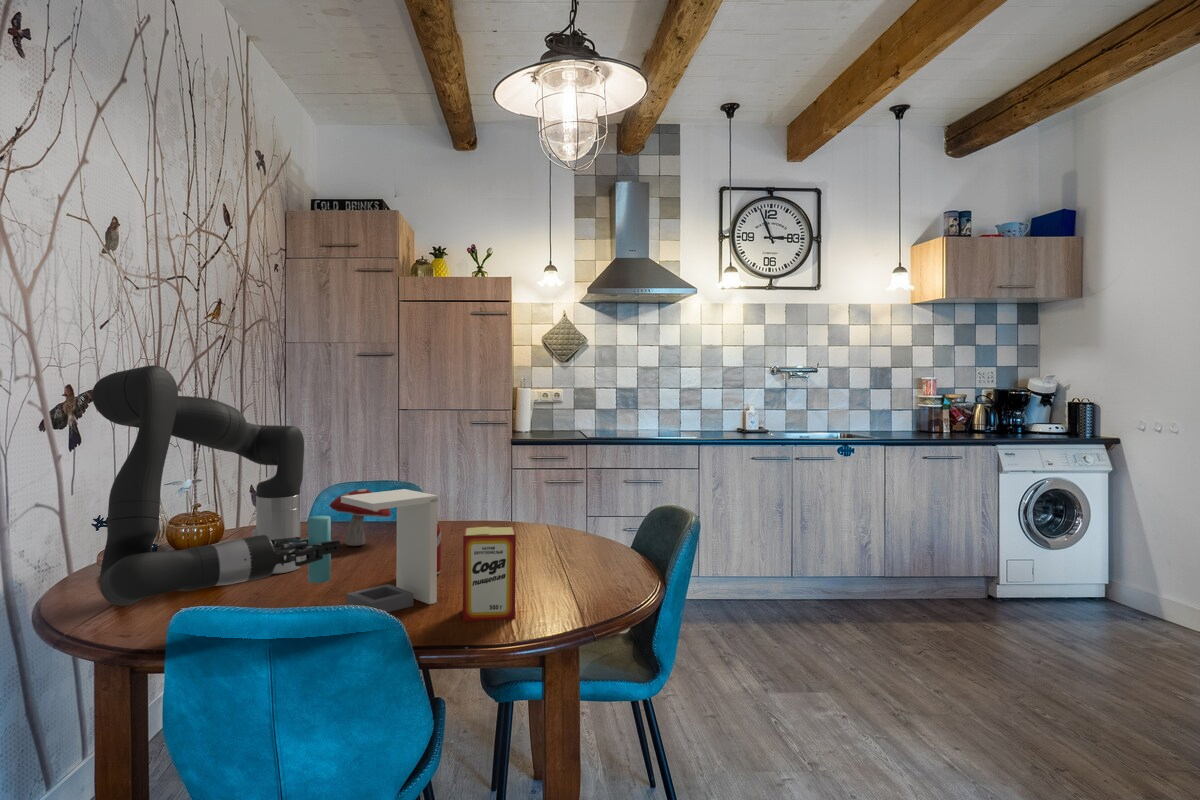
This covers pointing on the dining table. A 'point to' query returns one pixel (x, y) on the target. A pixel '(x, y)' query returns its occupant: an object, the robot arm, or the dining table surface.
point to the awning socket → (404, 549)
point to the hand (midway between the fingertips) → (333, 543)
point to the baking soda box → (489, 573)
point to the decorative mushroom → (357, 517)
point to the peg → (316, 534)
